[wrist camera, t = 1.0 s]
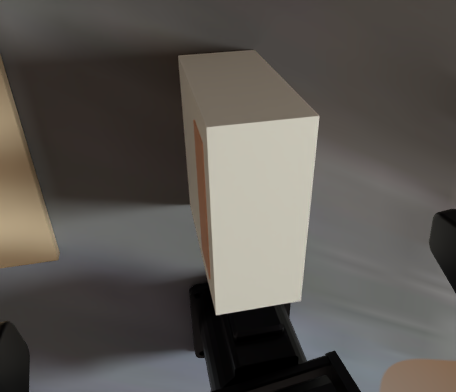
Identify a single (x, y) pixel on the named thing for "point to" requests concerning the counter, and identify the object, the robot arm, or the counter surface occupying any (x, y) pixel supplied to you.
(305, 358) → the robot arm
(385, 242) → the counter surface
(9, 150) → the mat
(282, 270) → the cream box
